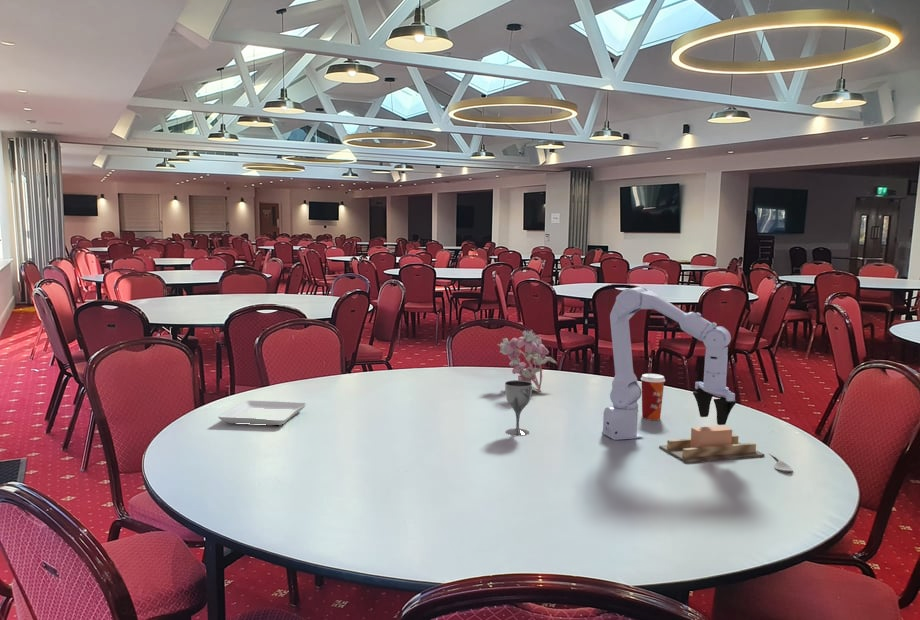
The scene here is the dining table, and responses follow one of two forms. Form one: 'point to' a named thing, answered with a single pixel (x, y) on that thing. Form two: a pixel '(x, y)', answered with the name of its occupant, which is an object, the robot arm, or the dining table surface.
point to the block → (710, 436)
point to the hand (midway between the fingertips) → (712, 420)
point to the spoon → (780, 463)
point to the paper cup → (652, 395)
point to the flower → (526, 356)
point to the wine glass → (518, 401)
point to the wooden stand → (710, 451)
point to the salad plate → (243, 407)
